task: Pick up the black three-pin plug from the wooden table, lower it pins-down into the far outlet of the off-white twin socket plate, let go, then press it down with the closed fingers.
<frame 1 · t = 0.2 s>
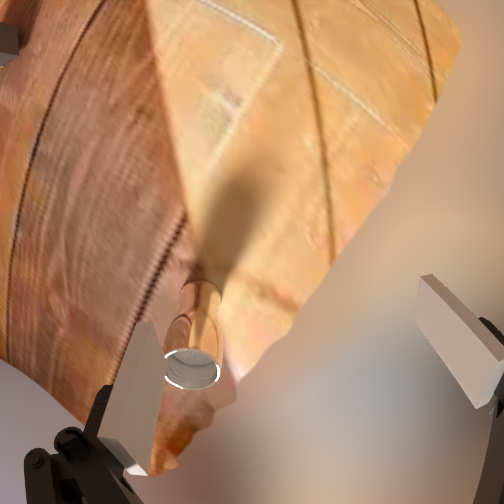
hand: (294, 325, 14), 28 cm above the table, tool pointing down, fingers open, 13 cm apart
plug: (8, 51, 28), on the table
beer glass: (200, 297, 46), on the table
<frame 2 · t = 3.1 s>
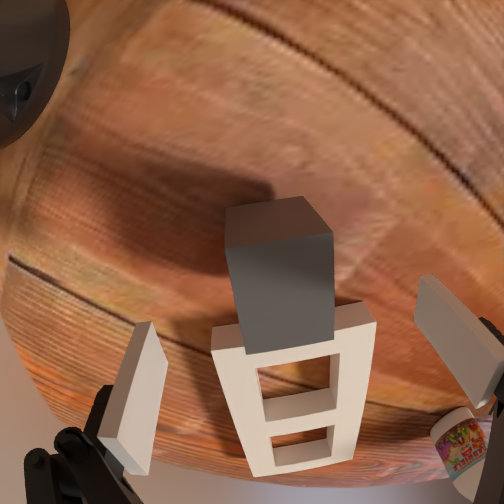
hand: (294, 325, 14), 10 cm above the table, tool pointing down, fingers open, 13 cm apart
milk bottle: (448, 420, 38), on the table
plug: (268, 239, 23), on the table
socket plate: (297, 402, 31), on the table
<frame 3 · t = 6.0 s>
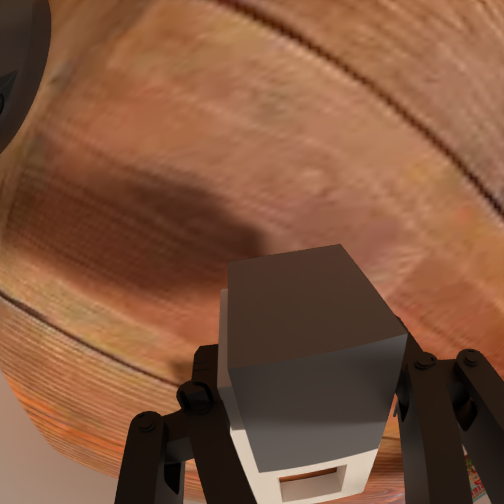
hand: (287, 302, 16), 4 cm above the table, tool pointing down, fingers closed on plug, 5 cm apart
milk bottle: (460, 446, 34), on the table
plug: (286, 297, 16), point 3 cm above the table, touching gripper
socket plate: (307, 441, 27), on the table
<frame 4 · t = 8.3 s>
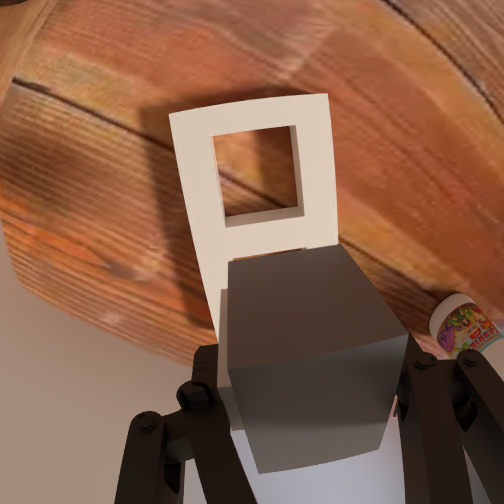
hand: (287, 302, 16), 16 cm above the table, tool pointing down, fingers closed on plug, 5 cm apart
milk bottle: (448, 313, 39), on the table
plug: (286, 297, 16), point 15 cm above the table, touching gripper
socket plate: (263, 225, 31), on the table
when the fingers open (3 cm above the table, at t = 10.9 s): plug drops 3 cm, resting in socket plate.
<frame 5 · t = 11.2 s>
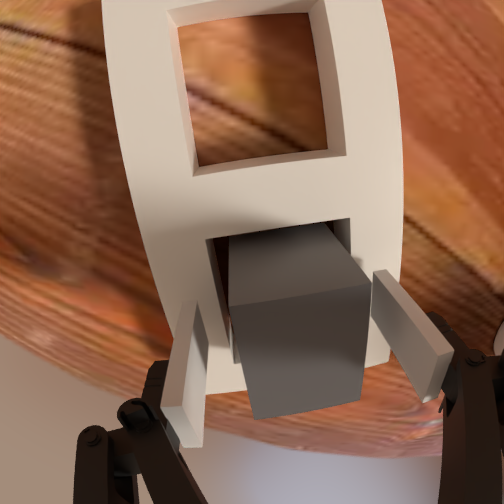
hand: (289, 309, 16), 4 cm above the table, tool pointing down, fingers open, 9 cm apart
plug: (279, 271, 19), resting in socket plate
socket plate: (268, 183, 17), on the table
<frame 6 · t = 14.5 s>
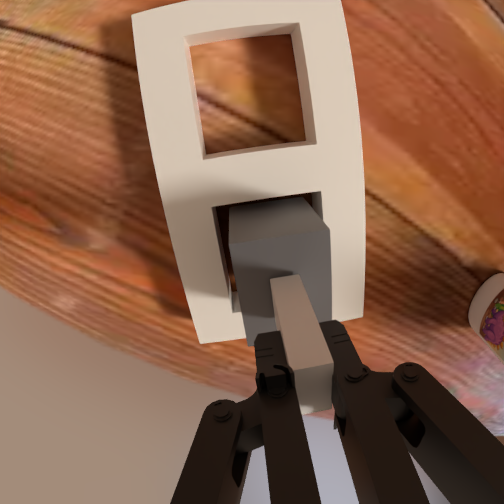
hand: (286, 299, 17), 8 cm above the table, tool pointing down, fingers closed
milk bottle: (488, 299, 29), on the table
plug: (269, 237, 24), resting in socket plate, touching gripper
socket plate: (259, 167, 22), on the table
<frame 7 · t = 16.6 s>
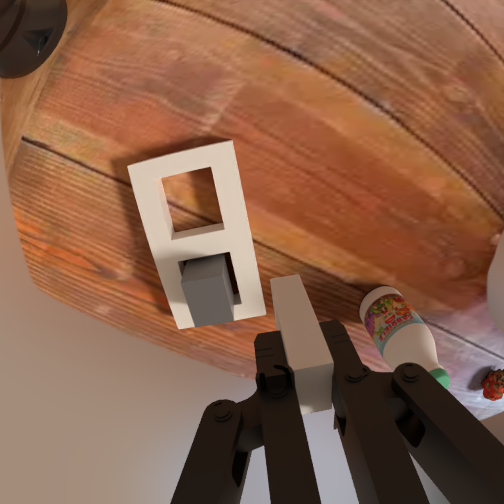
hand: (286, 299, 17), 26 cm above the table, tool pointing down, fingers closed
milk bottle: (379, 304, 49), on the table
plug: (211, 272, 45), resting in socket plate
socket plate: (202, 237, 43), on the table
dragon fruit: (489, 376, 63), on the table
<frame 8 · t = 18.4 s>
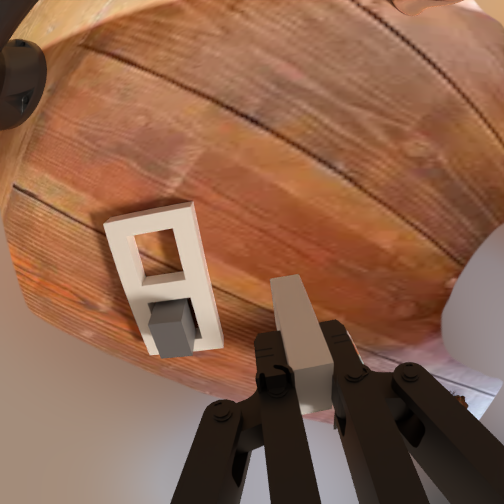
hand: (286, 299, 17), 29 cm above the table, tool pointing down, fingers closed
plug: (177, 310, 51), resting in socket plate
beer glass: (405, 0, 32), on the table
socket plate: (169, 282, 49), on the table
dragon fruit: (448, 400, 70), on the table
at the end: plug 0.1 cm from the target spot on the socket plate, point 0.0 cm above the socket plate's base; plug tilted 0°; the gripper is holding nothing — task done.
